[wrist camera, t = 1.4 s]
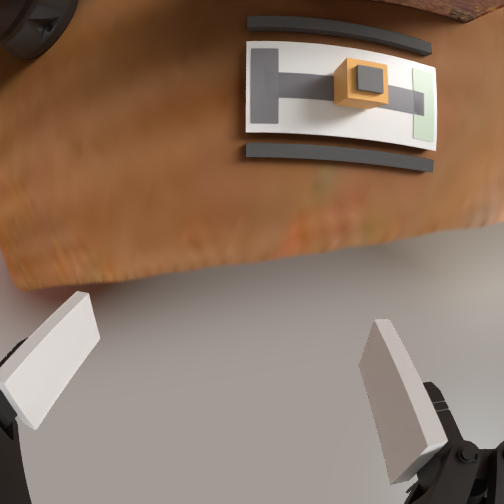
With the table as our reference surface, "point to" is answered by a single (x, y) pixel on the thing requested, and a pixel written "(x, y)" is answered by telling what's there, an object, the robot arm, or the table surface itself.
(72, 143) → the table surface
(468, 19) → the book
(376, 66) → the lever
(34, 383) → the robot arm
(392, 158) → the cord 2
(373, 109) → the panel
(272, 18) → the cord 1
